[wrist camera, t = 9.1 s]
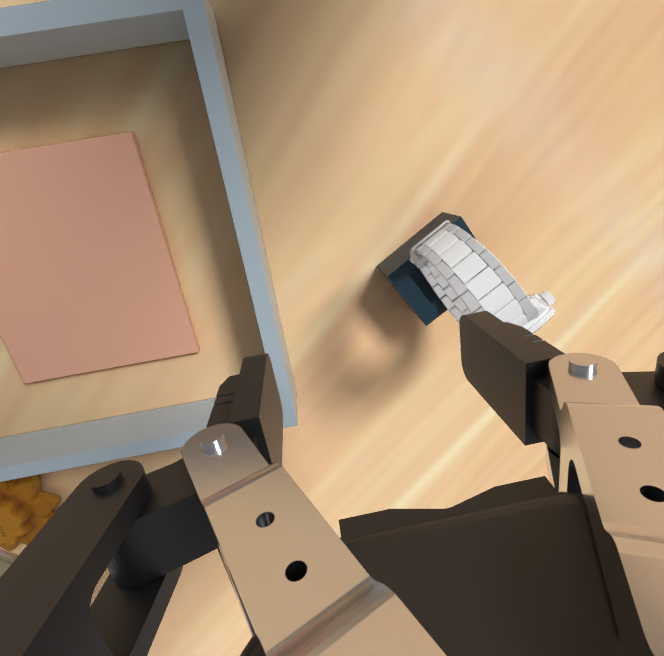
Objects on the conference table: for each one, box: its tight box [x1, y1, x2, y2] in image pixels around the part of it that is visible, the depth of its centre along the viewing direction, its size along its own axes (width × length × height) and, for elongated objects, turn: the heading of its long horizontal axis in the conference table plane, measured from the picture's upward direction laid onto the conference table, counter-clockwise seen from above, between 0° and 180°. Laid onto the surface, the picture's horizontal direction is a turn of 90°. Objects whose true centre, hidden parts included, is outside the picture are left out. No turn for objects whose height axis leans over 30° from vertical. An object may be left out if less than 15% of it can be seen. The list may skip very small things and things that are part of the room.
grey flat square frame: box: [0, 0, 298, 482], centre depth 24 cm, size 24×24×4 cm
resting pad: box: [0, 132, 200, 383], centre depth 25 cm, size 14×12×1 cm
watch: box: [377, 212, 556, 333], centre depth 23 cm, size 6×8×11 cm
